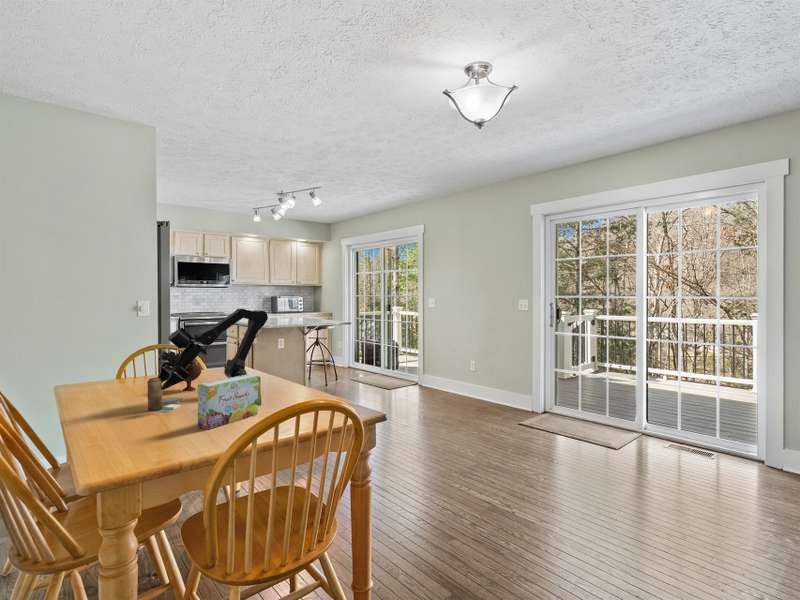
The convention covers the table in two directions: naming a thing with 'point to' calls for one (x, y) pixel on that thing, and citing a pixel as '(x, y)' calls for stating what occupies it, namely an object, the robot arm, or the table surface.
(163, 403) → the trivet
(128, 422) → the table surface
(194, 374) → the ice cream bowl
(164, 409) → the mat
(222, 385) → the snack box
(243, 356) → the robot arm
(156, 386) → the pepper mill
